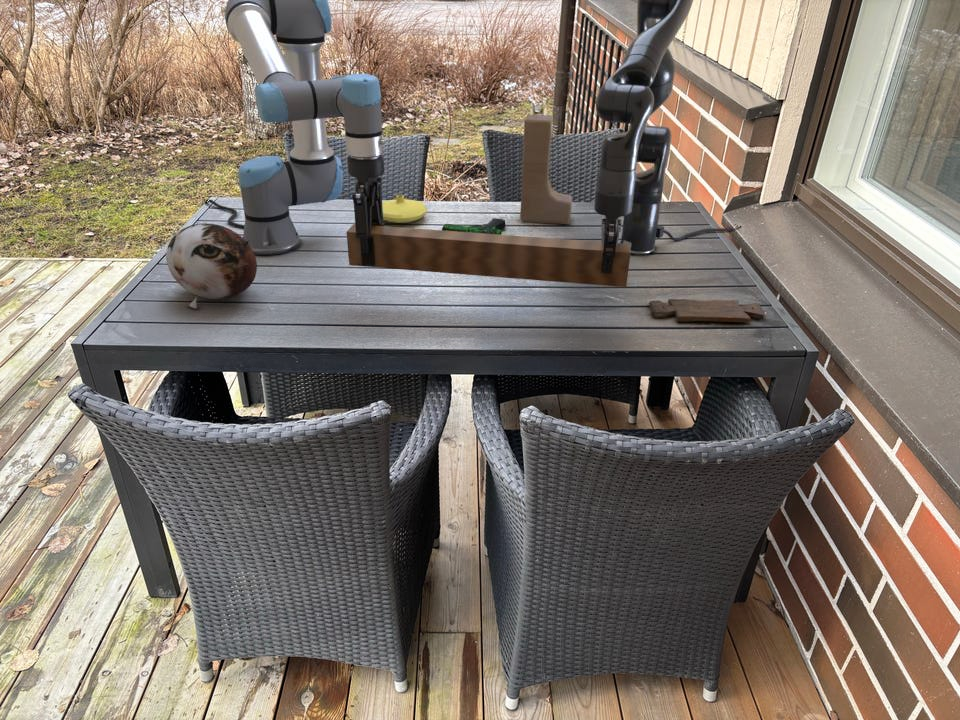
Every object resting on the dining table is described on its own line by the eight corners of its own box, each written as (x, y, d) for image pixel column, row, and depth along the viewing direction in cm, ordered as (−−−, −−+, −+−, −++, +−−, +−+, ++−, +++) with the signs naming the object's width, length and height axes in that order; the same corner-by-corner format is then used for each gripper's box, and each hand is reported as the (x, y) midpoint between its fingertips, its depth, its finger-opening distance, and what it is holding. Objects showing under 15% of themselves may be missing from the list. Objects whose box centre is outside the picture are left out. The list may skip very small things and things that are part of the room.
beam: (349, 265, 159) (346, 231, 155) (356, 256, 163) (353, 223, 159) (626, 287, 151) (630, 252, 147) (625, 277, 155) (630, 243, 151)
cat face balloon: (130, 285, 161) (164, 203, 163) (192, 308, 177) (221, 233, 178) (195, 307, 151) (229, 220, 152) (254, 330, 166) (285, 250, 168)
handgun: (511, 219, 210) (493, 234, 198) (511, 228, 211) (492, 244, 199) (461, 212, 215) (440, 226, 203) (461, 221, 217) (440, 236, 204)
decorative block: (569, 225, 214) (578, 121, 198) (519, 222, 215) (524, 119, 200) (570, 216, 220) (578, 116, 205) (522, 213, 222) (526, 113, 206)
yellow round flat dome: (398, 206, 226) (397, 184, 222) (437, 217, 218) (437, 194, 214) (364, 220, 215) (362, 197, 211) (403, 231, 207) (402, 208, 203)
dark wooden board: (769, 325, 160) (756, 306, 169) (771, 319, 159) (757, 299, 168) (654, 321, 161) (647, 302, 169) (655, 314, 160) (648, 295, 168)
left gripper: (370, 168, 140) (377, 277, 152) (394, 145, 155) (398, 246, 167) (333, 166, 141) (343, 274, 153) (360, 143, 156) (367, 243, 168)
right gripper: (635, 201, 136) (624, 282, 145) (633, 179, 149) (623, 255, 157) (595, 199, 137) (587, 279, 146) (597, 177, 150) (589, 253, 158)
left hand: (372, 259), depth 160 cm, fingers closed on beam, 5 cm apart
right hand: (606, 267), depth 152 cm, fingers closed on beam, 5 cm apart
